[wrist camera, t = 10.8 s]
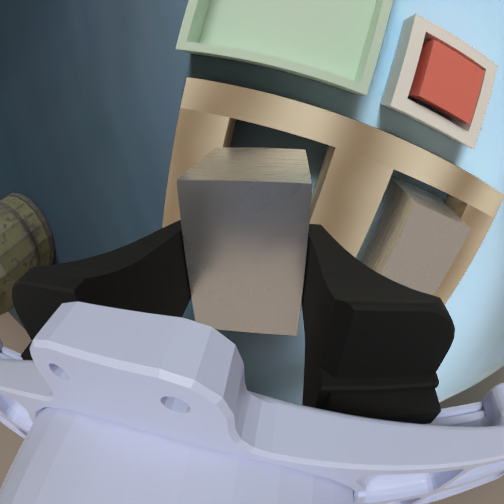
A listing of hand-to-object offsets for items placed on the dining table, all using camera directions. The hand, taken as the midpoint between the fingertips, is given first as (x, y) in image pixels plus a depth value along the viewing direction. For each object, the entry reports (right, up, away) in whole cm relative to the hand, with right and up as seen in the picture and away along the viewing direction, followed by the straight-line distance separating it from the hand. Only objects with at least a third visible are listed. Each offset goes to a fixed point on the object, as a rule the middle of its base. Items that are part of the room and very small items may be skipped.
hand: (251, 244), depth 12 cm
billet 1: (0, +2, +3) cm, 3 cm away
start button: (+11, +10, +1) cm, 15 cm away
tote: (+3, +15, 0) cm, 16 cm away
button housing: (+11, +10, +2) cm, 15 cm away
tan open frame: (+5, +3, +7) cm, 9 cm away
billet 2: (+10, +2, +7) cm, 12 cm away
